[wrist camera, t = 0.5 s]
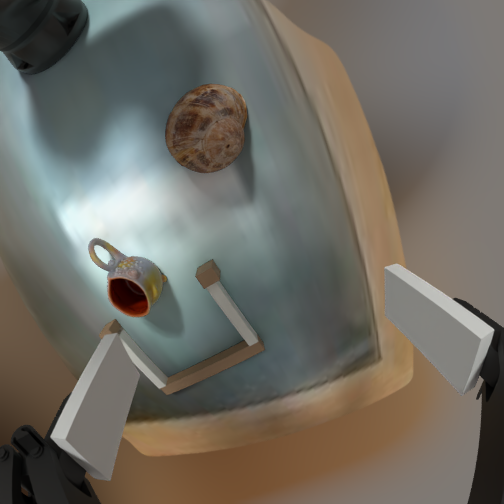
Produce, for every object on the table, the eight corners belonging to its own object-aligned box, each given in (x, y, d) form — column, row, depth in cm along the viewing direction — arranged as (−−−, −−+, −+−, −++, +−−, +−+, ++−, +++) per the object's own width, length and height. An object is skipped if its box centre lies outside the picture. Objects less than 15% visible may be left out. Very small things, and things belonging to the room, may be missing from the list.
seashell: (274, 138, 33) (243, 155, 25) (221, 170, 38) (182, 195, 30) (231, 73, 30) (187, 70, 22) (183, 110, 35) (135, 121, 27)
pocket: (105, 325, 39) (98, 335, 36) (212, 259, 37) (211, 267, 34) (164, 389, 43) (162, 401, 40) (268, 339, 42) (271, 351, 39)
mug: (175, 282, 38) (166, 303, 31) (142, 308, 38) (130, 331, 32) (119, 216, 34) (99, 225, 28) (89, 247, 35) (67, 261, 29)
